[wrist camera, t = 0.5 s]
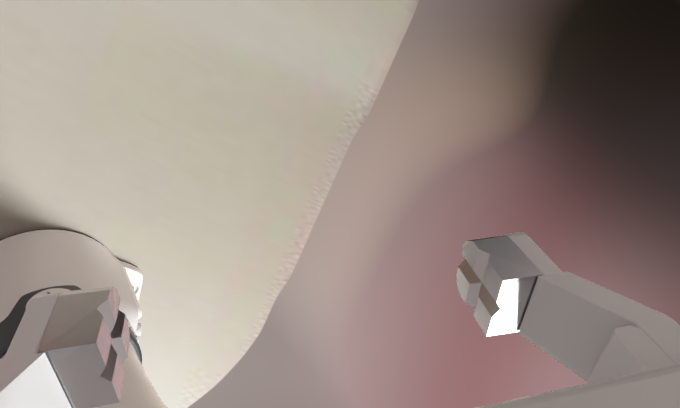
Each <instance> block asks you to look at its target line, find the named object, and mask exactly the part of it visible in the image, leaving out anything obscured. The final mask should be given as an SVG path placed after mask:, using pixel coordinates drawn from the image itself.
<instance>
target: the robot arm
mask: <svg viewBox="0 0 680 408" xmlns="http://www.w3.org/2000/svg"><path fill="white" fill-rule="evenodd" d="M461 253H462V255H463V256H464V258H465V260H464V261H463V262H462V263H461V264H460V265H459V266H458V271H457V276H456V278H457V287H458V290H459V293H460V295H461V297H462V298H463V300H464V302H465V303H466V304H468V305H470V306H472V307H473V308H475V311H474V318H475V319H476V321H477V322H478V324H479V325H480V327H481V329H482V330H483V332H484V333H485V335H486V336H492V335H499V334H506V333H513V332H518V334H520V335H521V336H523V337H524V338H526V339H527V340H528V341H530V342H532V343H533V344H534V345H535V346H537V347H538V348H540V349H541V350H543V351H544V352H545V353H547V354H548V355H550V356H551V357H553V358H554V359H555V360H557V361H558V362H560V363H561V364H563V365H564V366H565V367H567V368H568V369H570V370H571V371H573V372H574V373H575V374H577V375H578V376H580V377H581V378H583V379H584V380H585V381H587V383H586V384H583V385H578V386H573V387H568V388H564V389H559V390H554V391H550V392H545V393H540V394H536V395H531V396H527V397H523V398H517V399H513V400H508V401H503V402H499V403H494V404H489V405H485V406H480V407H476V408H680V326H679V325H678V324H677V323H676V322H675V321H674V320H673V319H672V318H671V317H669V316H667V315H665V314H662V313H660V312H658V311H656V310H653V309H651V308H649V307H647V306H644V305H642V304H640V303H638V302H635V301H633V300H631V299H629V298H626V297H624V296H622V295H619V294H617V293H615V292H613V291H611V290H608V289H606V288H604V287H602V286H599V285H597V284H595V283H593V282H590V281H588V280H586V279H584V278H581V277H579V276H577V275H575V274H572V273H570V272H562V271H561V270H560V269H559V268H558V267H557V266H556V265H555V264H554V263H553V262H552V261H551V260H550V258H549V257H548V256H547V255H546V254H545V253H544V252H543V251H542V250H541V249H540V248H539V247H538V246H537V245H536V244H535V243H534V242H533V241H532V240H531V239H530V238H529V236H528V235H526V234H524V233H522V232H519V233H512V234H505V235H502V236H494V237H486V238H480V239H472V240H467V241H466V242H465V243H464V245H463V248H462V252H461ZM142 282H143V276H142V273H141V270H140V269H139V268H137V267H135V266H133V265H131V264H128V263H125V262H122V261H120V260H118V259H117V258H115V257H114V256H113V255H112V254H111V253H110V252H109V251H108V250H107V249H106V248H105V247H104V246H103V245H101V244H100V243H99V242H97V241H95V240H94V239H92V238H90V237H87V236H85V235H82V234H79V233H75V232H71V231H65V230H37V231H30V232H25V233H21V234H17V235H14V236H11V237H8V238H6V239H3V240H1V241H0V408H167V407H166V406H165V405H164V403H163V402H162V401H161V399H160V398H159V396H158V394H157V392H156V391H155V389H154V387H153V386H152V384H151V382H150V380H149V378H148V377H147V375H146V373H145V371H144V369H143V367H142V355H141V350H140V347H139V340H138V338H137V336H140V335H141V324H140V323H138V318H140V317H141V316H142V312H141V308H140V305H139V303H138V300H139V296H140V291H141V287H142Z"/></svg>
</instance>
